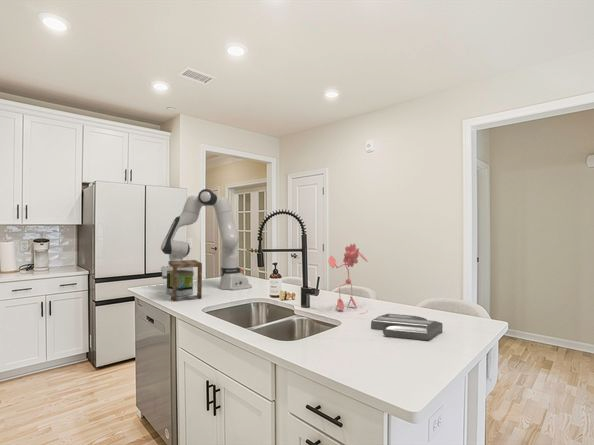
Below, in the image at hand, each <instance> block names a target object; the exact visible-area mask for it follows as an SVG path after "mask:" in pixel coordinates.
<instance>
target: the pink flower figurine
mask: <svg viewBox="0 0 594 445" xmlns="http://www.w3.org/2000/svg"><path fill="white" fill-rule="evenodd" d="M344 249H345V252H344V254H343V256H344V257H343V260H342V262H343V264H341V265H339V266H337V262H336V259H335V256H332V255H330V256H329V258H328V264H329V265H330V267H331V268H332V269H334V268H335V267H336V269H338V268H340V267H342V266H345V268H346V270H347V277H348V278H347V279H346V280H345V283H344V284H342V285H340V286H339V287H338V289H339V290H338V291H339V296H341V288H342V287H343V286H345V285H351V286H350V287H351V288H350V290H351V294H353V285H352V280H351V279H350V271H349V267H351V268H353V267H354V264H358V262H359V260H358V258H359V256H360V258H362V259H363V260H364V261H365V262H369V261H368V260H367V259H366V257H365V256H364V255H363V254H362V253H361V252H360V248H359V247H357V245H356V243H353V244H352V243H350V244H349V246H348V245H346V246H345V247H344ZM349 298H350V299H349V302H348V303H347V305H346V306H347V307H348V308H349V306H350V304H351V302H352V304H353V306H354V307H355V308H358V306H357V303H356V300H354V298H353V296H352V295H351V296H349ZM344 308H345V304H344V301H343V300H342V299H341V298H338V299H337V305H336V307H335V310H337V309H339V310H340V311H341V312H343V311H344ZM327 311H329V309H327ZM365 313H367V311H365V312H362V313H360V315H361V314H362V315H363V314H365Z"/></svg>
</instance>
